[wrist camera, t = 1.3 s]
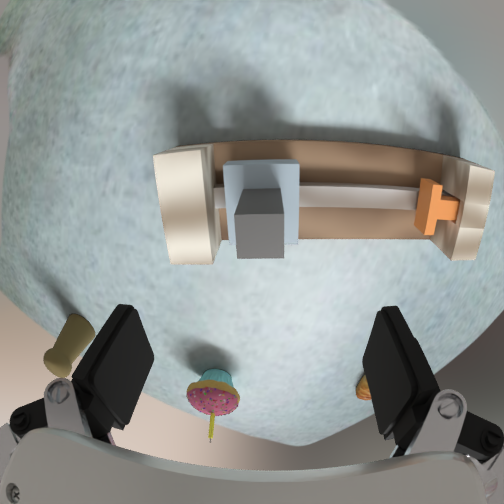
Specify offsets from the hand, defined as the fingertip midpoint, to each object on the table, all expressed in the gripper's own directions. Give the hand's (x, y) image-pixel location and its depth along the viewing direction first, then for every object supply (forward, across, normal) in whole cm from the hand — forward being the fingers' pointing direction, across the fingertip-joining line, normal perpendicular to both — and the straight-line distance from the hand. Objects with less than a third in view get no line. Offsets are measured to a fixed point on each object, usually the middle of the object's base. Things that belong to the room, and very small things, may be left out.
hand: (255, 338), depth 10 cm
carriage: (+18, 0, -1) cm, 18 cm away
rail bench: (+20, -7, -1) cm, 21 cm away
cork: (+20, +33, +21) cm, 44 cm away
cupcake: (+20, +9, +30) cm, 38 cm away
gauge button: (+16, -18, -1) cm, 25 cm away
